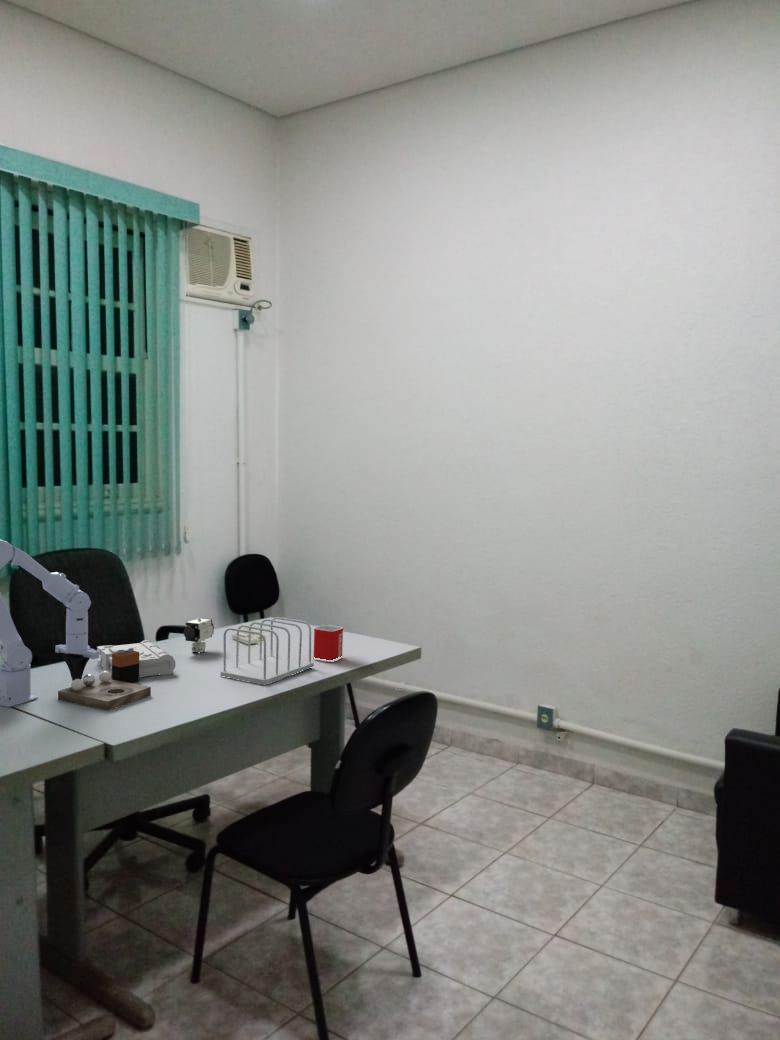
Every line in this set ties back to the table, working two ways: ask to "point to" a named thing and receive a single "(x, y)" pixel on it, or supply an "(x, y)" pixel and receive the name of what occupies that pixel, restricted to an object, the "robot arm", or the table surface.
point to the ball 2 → (105, 676)
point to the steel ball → (88, 680)
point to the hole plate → (105, 694)
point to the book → (140, 658)
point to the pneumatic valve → (198, 633)
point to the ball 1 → (77, 684)
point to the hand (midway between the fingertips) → (76, 680)
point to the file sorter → (271, 665)
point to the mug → (328, 642)
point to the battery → (125, 666)
